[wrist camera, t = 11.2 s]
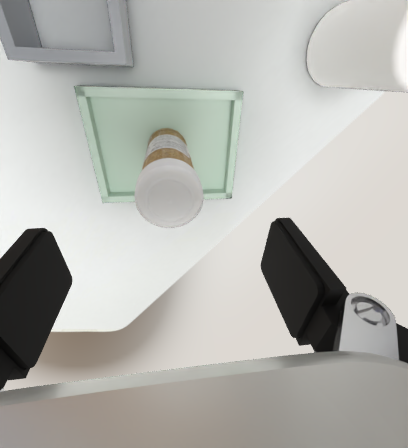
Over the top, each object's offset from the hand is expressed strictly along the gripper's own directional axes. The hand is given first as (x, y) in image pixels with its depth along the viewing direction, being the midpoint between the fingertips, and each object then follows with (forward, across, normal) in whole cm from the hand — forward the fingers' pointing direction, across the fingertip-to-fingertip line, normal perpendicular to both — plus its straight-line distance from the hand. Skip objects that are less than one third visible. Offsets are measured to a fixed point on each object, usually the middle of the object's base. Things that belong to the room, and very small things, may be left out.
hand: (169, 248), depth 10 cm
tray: (+19, 0, +1) cm, 19 cm away
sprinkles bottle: (+19, 0, +1) cm, 19 cm away
